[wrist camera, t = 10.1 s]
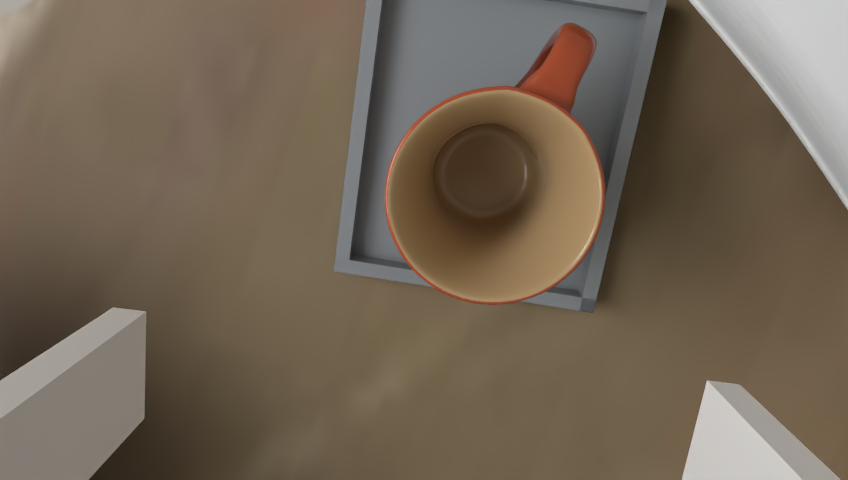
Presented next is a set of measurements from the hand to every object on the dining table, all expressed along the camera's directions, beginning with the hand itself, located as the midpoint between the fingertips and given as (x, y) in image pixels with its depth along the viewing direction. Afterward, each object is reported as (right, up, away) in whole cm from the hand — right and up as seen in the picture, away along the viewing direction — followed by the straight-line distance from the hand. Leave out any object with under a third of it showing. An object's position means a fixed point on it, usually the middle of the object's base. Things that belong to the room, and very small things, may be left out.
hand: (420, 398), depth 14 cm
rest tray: (+4, +9, +20) cm, 22 cm away
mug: (+4, +9, +19) cm, 22 cm away
